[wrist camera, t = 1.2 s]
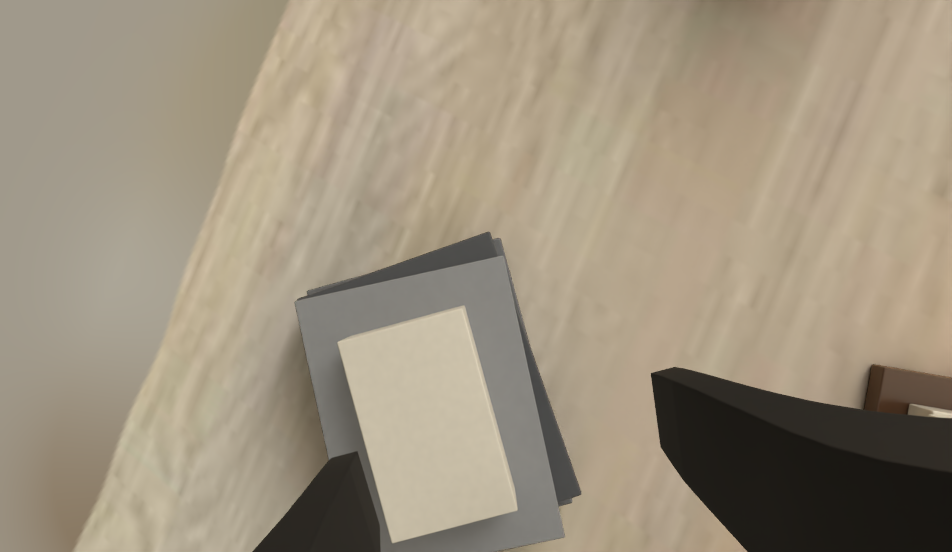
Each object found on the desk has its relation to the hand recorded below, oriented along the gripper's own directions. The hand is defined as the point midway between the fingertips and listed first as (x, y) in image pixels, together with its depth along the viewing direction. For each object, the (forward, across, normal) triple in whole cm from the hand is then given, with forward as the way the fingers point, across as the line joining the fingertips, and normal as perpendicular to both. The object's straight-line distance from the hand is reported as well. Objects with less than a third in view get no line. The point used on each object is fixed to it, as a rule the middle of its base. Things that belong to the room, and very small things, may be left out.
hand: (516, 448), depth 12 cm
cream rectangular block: (+9, +2, +3) cm, 10 cm away
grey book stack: (+13, +2, +4) cm, 14 cm away
